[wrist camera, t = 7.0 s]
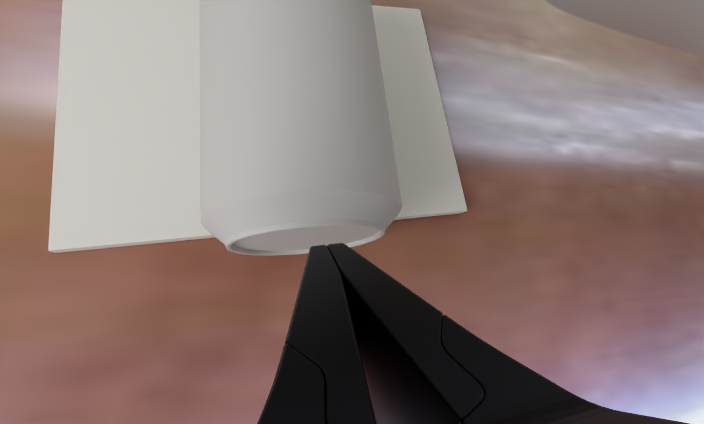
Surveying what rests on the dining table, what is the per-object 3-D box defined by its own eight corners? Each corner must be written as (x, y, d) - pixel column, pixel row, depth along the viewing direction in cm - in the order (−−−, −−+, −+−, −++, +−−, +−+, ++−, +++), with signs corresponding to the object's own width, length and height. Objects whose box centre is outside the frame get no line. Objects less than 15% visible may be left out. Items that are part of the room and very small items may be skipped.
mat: (461, 213, 20) (467, 210, 19) (56, 252, 15) (48, 250, 14) (416, 16, 23) (419, 9, 23) (70, -12, 18) (64, -22, 17)
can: (160, 233, 9) (169, -106, 12) (230, 263, 16) (225, 49, 19) (435, 210, 10) (380, -98, 13) (384, 248, 17) (356, 46, 20)
